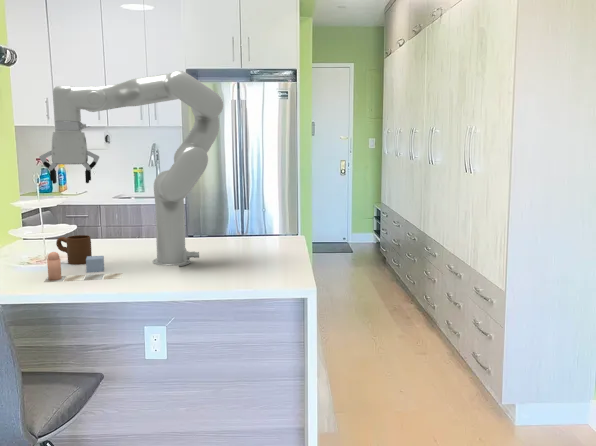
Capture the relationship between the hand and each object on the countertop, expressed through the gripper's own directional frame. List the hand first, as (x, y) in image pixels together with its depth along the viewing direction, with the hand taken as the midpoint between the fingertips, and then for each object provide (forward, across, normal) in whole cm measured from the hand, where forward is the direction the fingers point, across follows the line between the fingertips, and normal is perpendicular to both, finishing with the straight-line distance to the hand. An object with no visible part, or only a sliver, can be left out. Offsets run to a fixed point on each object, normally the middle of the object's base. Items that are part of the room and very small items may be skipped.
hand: (71, 183), depth 176 cm
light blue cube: (+28, -6, +3) cm, 29 cm away
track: (+28, -4, +12) cm, 31 cm away
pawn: (+28, +4, +12) cm, 30 cm away
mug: (+28, +2, -11) cm, 31 cm away
